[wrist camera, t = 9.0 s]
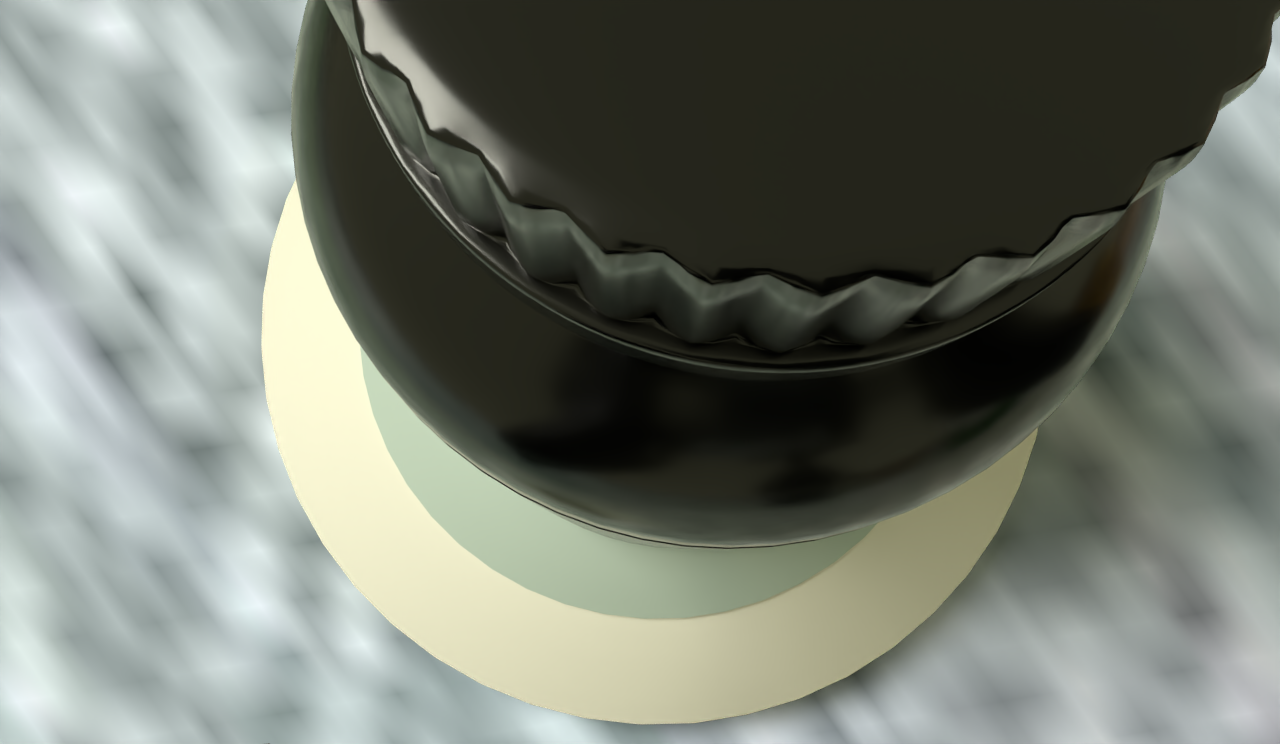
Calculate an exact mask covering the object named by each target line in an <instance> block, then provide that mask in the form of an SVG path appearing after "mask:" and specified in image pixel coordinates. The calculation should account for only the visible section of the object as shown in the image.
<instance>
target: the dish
mask: <svg viewBox="0 0 1280 744" xmlns="http://www.w3.org/2000/svg"><path fill="white" fill-rule="evenodd" d="M261 348H262V358H263V368H264V378H265V389H266V399H267V403H268V407H269V411H270V415H271V420H272V424H273V428H274V432H275V436H276V440H277V445H278V449H279V451H280V454H281V457H282V459H283V462H284V464H285V467H286V470H287V472H288V475H289V477H290V480H291V482H292V485H293V488H294V490H295V493H296V495H297V498H298V500H299V501H300V503H301V505H302V507H303V509H304V510H305V512H306V514H307V516H308V518H309V519H310V521H311V523H312V525H313V527H314V529H315V530H316V532H317V534H318V536H319V538H320V539H321V541H322V543H323V544H324V546H325V547H326V549H327V550H328V551H329V553H330V554H331V555H332V557H333V558H334V559H335V561H336V562H337V563H338V565H339V566H340V567H341V569H342V570H343V571H344V573H345V574H346V575H347V577H348V578H349V579H350V581H351V582H352V583H353V585H354V586H355V587H356V588H357V589H358V590H359V591H360V592H361V593H362V594H363V595H364V596H365V597H366V598H367V599H368V600H369V601H370V602H371V603H372V604H373V605H374V606H375V607H376V608H377V609H378V610H379V611H380V612H381V613H382V614H383V615H384V616H385V618H386V619H387V620H388V621H389V622H390V623H391V624H392V625H394V626H395V627H396V628H398V629H399V630H400V631H401V632H403V633H404V634H405V635H407V636H408V637H409V638H411V639H412V640H413V641H414V642H416V643H417V644H418V645H420V646H421V647H422V648H424V649H425V650H426V651H427V652H429V653H430V654H431V655H433V656H434V657H435V658H437V659H439V660H441V661H442V662H444V663H446V664H447V665H449V666H451V667H453V668H454V669H456V670H458V671H460V672H461V673H463V674H465V675H467V676H468V677H470V678H472V679H474V680H475V681H477V682H479V683H481V684H483V685H485V686H487V687H490V688H492V689H495V690H497V691H500V692H502V693H505V694H507V695H510V696H512V697H515V698H517V699H519V700H522V701H524V702H527V703H529V704H532V705H536V706H539V707H543V708H547V709H551V710H555V711H559V712H563V713H567V714H571V715H575V716H579V717H583V718H588V719H597V720H606V721H615V722H623V723H632V724H676V723H697V722H704V721H710V720H716V719H723V718H729V717H735V716H741V715H747V714H751V713H754V712H757V711H761V710H764V709H767V708H771V707H774V706H777V705H780V704H784V703H787V702H790V701H794V700H797V699H800V698H802V697H804V696H806V695H809V694H811V693H813V692H815V691H817V690H819V689H822V688H824V687H826V686H828V685H830V684H833V683H835V682H837V681H839V680H841V679H843V678H846V677H848V676H849V675H851V674H852V673H854V672H856V671H857V670H859V669H860V668H862V667H863V666H865V665H867V664H868V663H870V662H871V661H873V660H874V659H876V658H878V657H879V656H881V655H882V654H884V653H885V652H887V651H889V650H890V649H892V648H893V647H894V646H896V645H897V644H898V643H899V642H900V641H901V640H903V639H904V638H905V637H906V636H907V635H909V634H910V633H911V632H912V631H913V630H914V629H916V628H917V627H918V626H919V625H920V624H922V623H923V622H924V621H925V620H926V619H927V618H929V617H930V616H931V615H932V614H933V613H934V612H935V611H936V610H937V609H938V608H939V607H940V605H941V604H942V603H943V602H944V601H945V600H946V599H947V598H948V597H949V595H950V594H951V593H952V592H953V591H954V590H955V589H956V588H957V586H958V585H959V584H960V583H961V582H962V581H963V580H964V579H965V578H966V576H967V575H968V574H969V573H970V571H971V570H972V568H973V567H974V565H975V564H976V562H977V561H978V559H979V558H980V556H981V555H982V553H983V552H984V550H985V549H986V548H987V546H988V545H989V543H990V542H991V540H992V539H993V537H994V536H995V534H996V533H997V531H998V529H999V527H1000V525H1001V523H1002V521H1003V519H1004V517H1005V515H1006V513H1007V511H1008V509H1009V507H1010V505H1011V503H1012V501H1013V499H1014V497H1015V495H1016V493H1017V491H1018V489H1019V487H1020V484H1021V481H1022V478H1023V476H1024V473H1025V470H1026V467H1027V464H1028V461H1029V458H1030V455H1031V452H1032V449H1033V446H1034V443H1035V440H1036V437H1037V432H1038V427H1037V428H1036V429H1035V430H1034V431H1033V432H1032V433H1031V434H1030V435H1029V436H1028V437H1027V438H1026V439H1025V440H1024V441H1023V442H1021V443H1020V444H1019V445H1018V446H1016V447H1015V448H1014V449H1012V450H1011V451H1010V452H1008V453H1007V454H1006V455H1004V456H1003V457H1002V458H1001V459H999V460H998V461H997V462H995V463H994V464H993V465H991V466H990V467H989V468H988V469H986V470H984V471H983V472H981V473H979V474H978V475H976V476H975V477H973V478H971V479H970V480H968V481H966V482H965V483H963V484H961V485H960V486H958V487H957V488H955V489H953V490H952V491H950V492H948V493H946V494H944V495H942V496H940V497H938V498H935V499H933V500H931V501H929V502H927V503H925V504H923V505H921V506H919V507H917V508H915V509H913V510H910V511H908V512H906V513H904V514H901V515H898V516H895V517H892V518H890V519H887V520H884V521H881V522H879V523H876V524H873V525H870V526H867V527H865V528H862V529H858V530H856V531H852V532H848V533H844V534H840V535H836V536H832V537H828V538H824V539H820V540H816V541H810V542H803V543H796V544H789V545H782V546H775V547H767V548H744V549H673V548H656V547H650V546H643V545H637V544H631V543H627V542H623V541H619V540H615V539H612V538H608V537H605V536H602V535H599V534H597V533H594V532H591V531H589V530H586V529H583V528H581V527H579V526H577V525H575V524H573V523H571V522H569V521H567V520H565V519H563V518H561V517H559V516H557V515H555V514H553V513H551V512H549V511H548V510H546V509H544V508H542V507H540V506H538V505H536V504H535V503H533V502H531V501H529V500H527V499H525V498H524V497H522V496H520V495H518V494H517V493H515V492H514V491H512V490H510V489H509V488H507V487H505V486H504V485H502V484H501V483H499V482H497V481H496V480H494V479H493V478H491V477H489V476H488V475H486V474H484V473H483V472H482V471H480V470H479V469H478V468H476V467H475V466H474V465H473V464H471V463H470V462H469V461H467V460H466V459H465V458H463V457H462V456H461V455H459V454H458V453H457V452H456V451H454V450H453V449H452V448H450V447H449V446H448V445H447V444H446V443H445V442H444V441H443V440H441V439H440V438H439V437H438V436H437V435H436V434H435V433H434V432H433V431H432V430H431V429H430V428H429V427H428V426H426V425H425V424H424V423H423V422H422V421H421V420H420V419H419V418H418V417H417V416H416V415H415V414H414V413H413V412H412V410H411V409H410V408H409V407H408V406H407V405H406V404H405V402H404V401H403V400H402V399H401V398H400V397H399V395H398V394H397V393H396V392H395V391H394V390H393V389H392V387H391V386H390V385H389V384H388V383H387V382H386V381H385V379H384V378H383V377H382V376H381V374H380V373H379V371H378V370H377V369H376V367H375V366H374V364H373V363H372V362H371V360H370V359H369V357H368V356H367V354H366V353H365V352H364V350H363V349H362V347H361V346H360V345H359V343H358V342H357V340H356V339H355V337H354V335H353V334H352V332H351V330H350V328H349V326H348V325H347V323H346V321H345V319H344V318H343V316H342V314H341V312H340V311H339V309H338V307H337V305H336V303H335V302H334V299H333V297H332V295H331V293H330V290H329V288H328V286H327V283H326V281H325V279H324V276H323V274H322V272H321V270H320V267H319V265H318V263H317V260H316V256H315V253H314V250H313V247H312V244H311V241H310V237H309V234H308V231H307V228H306V225H305V222H304V217H303V212H302V207H301V202H300V197H299V192H298V188H297V183H296V180H295V182H294V184H293V186H292V188H291V191H290V193H289V195H288V197H287V199H286V203H285V206H284V209H283V212H282V215H281V219H280V222H279V225H278V228H277V232H276V235H275V238H274V241H273V244H272V248H271V254H270V260H269V266H268V272H267V277H266V283H265V289H264V295H263V317H262V345H261Z"/></svg>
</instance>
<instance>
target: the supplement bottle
mask: <svg viewBox="0 0 1280 744" xmlns="http://www.w3.org/2000/svg"><path fill="white" fill-rule="evenodd" d="M1279 16H1280V0H308V1H307V4H306V8H305V12H304V16H303V21H302V26H301V30H300V35H299V40H298V44H297V49H296V56H295V65H294V74H293V83H292V92H291V136H292V146H293V156H294V166H295V176H296V183H297V188H298V192H299V197H300V202H301V207H302V212H303V217H304V222H305V225H306V228H307V231H308V234H309V237H310V241H311V244H312V247H313V250H314V253H315V256H316V260H317V263H318V265H319V267H320V270H321V272H322V274H323V276H324V279H325V281H326V283H327V286H328V288H329V290H330V293H331V295H332V297H333V299H334V302H335V303H336V305H337V307H338V309H339V311H340V312H341V314H342V316H343V318H344V319H345V321H346V323H347V325H348V326H349V328H350V330H351V332H352V334H353V335H354V337H355V339H356V340H357V342H358V343H359V345H360V346H361V347H362V349H363V350H364V352H365V353H366V354H367V356H368V357H369V359H370V360H371V362H372V363H373V364H374V366H375V367H376V369H377V370H378V371H379V373H380V374H381V376H382V377H383V378H384V379H385V381H386V382H387V383H388V384H389V385H390V386H391V387H392V389H393V390H394V391H395V392H396V393H397V394H398V395H399V397H400V398H401V399H402V400H403V401H404V402H405V404H406V405H407V406H408V407H409V408H410V409H411V410H412V412H413V413H414V414H415V415H416V416H417V417H418V418H419V419H420V420H421V421H422V422H423V423H424V424H425V425H426V426H428V427H429V428H430V429H431V430H432V431H433V432H434V433H435V434H436V435H437V436H438V437H439V438H440V439H441V440H443V441H444V442H445V443H446V444H447V445H448V446H449V447H450V448H452V449H453V450H454V451H456V452H457V453H458V454H459V455H461V456H462V457H463V458H465V459H466V460H467V461H469V462H470V463H471V464H473V465H474V466H475V467H476V468H478V469H479V470H480V471H482V472H483V473H484V474H486V475H488V476H489V477H491V478H493V479H494V480H496V481H497V482H499V483H501V484H502V485H504V486H505V487H507V488H509V489H510V490H512V491H514V492H515V493H517V494H518V495H520V496H522V497H524V498H525V499H527V500H529V501H531V502H533V503H535V504H536V505H538V506H540V507H542V508H544V509H546V510H548V511H549V512H551V513H553V514H555V515H557V516H559V517H561V518H563V519H565V520H567V521H569V522H571V523H573V524H575V525H577V526H579V527H581V528H583V529H586V530H589V531H591V532H594V533H597V534H599V535H602V536H605V537H608V538H612V539H615V540H619V541H623V542H627V543H631V544H637V545H643V546H650V547H656V548H673V549H744V548H767V547H775V546H782V545H789V544H796V543H803V542H810V541H816V540H820V539H824V538H828V537H832V536H836V535H840V534H844V533H848V532H852V531H856V530H858V529H862V528H865V527H867V526H870V525H873V524H876V523H879V522H881V521H884V520H887V519H890V518H892V517H895V516H898V515H901V514H904V513H906V512H908V511H910V510H913V509H915V508H917V507H919V506H921V505H923V504H925V503H927V502H929V501H931V500H933V499H935V498H938V497H940V496H942V495H944V494H946V493H948V492H950V491H952V490H953V489H955V488H957V487H958V486H960V485H961V484H963V483H965V482H966V481H968V480H970V479H971V478H973V477H975V476H976V475H978V474H979V473H981V472H983V471H984V470H986V469H988V468H989V467H990V466H991V465H993V464H994V463H995V462H997V461H998V460H999V459H1001V458H1002V457H1003V456H1004V455H1006V454H1007V453H1008V452H1010V451H1011V450H1012V449H1014V448H1015V447H1016V446H1018V445H1019V444H1020V443H1021V442H1023V441H1024V440H1025V439H1026V438H1027V437H1028V436H1029V435H1030V434H1031V433H1032V432H1033V431H1034V430H1035V429H1036V428H1037V427H1039V426H1040V425H1041V424H1042V423H1043V422H1044V421H1045V420H1046V419H1047V418H1048V417H1049V416H1050V415H1051V414H1052V413H1053V412H1054V411H1055V410H1056V409H1057V408H1058V406H1059V405H1060V404H1061V403H1062V402H1063V401H1064V400H1065V398H1066V397H1067V396H1068V395H1069V394H1070V393H1071V391H1072V390H1073V389H1074V388H1075V387H1076V386H1077V384H1078V383H1079V382H1080V381H1081V380H1082V378H1083V377H1084V375H1085V374H1086V373H1087V371H1088V370H1089V368H1090V367H1091V365H1092V364H1093V362H1094V361H1095V359H1096V358H1097V357H1098V355H1099V354H1100V352H1101V351H1102V349H1103V348H1104V346H1105V345H1106V344H1107V342H1108V341H1109V339H1110V337H1111V335H1112V333H1113V332H1114V330H1115V328H1116V326H1117V324H1118V322H1119V321H1120V319H1121V317H1122V315H1123V313H1124V311H1125V310H1126V308H1127V306H1128V304H1129V302H1130V299H1131V297H1132V295H1133V292H1134V290H1135V288H1136V285H1137V283H1138V280H1139V278H1140V276H1141V273H1142V271H1143V268H1144V266H1145V263H1146V260H1147V256H1148V253H1149V250H1150V246H1151V243H1152V240H1153V236H1154V233H1155V230H1156V226H1157V222H1158V218H1159V213H1160V207H1161V202H1162V197H1163V191H1164V186H1165V181H1166V180H1167V179H1168V178H1170V177H1171V176H1173V175H1174V174H1176V173H1177V172H1178V171H1180V170H1181V169H1183V168H1184V167H1185V166H1186V165H1188V164H1189V163H1190V162H1191V161H1192V160H1193V159H1194V158H1195V157H1196V155H1197V154H1198V153H1199V151H1200V150H1201V148H1202V147H1203V145H1204V144H1205V141H1206V139H1207V137H1208V135H1209V133H1210V131H1211V129H1212V126H1213V124H1214V122H1215V120H1216V117H1217V114H1218V111H1220V110H1221V109H1222V108H1224V107H1225V106H1226V105H1228V104H1229V103H1230V102H1232V101H1233V100H1234V99H1236V98H1237V97H1238V96H1240V95H1241V94H1242V93H1244V92H1245V91H1246V90H1247V89H1248V88H1249V87H1250V86H1252V84H1253V83H1254V82H1255V81H1256V80H1257V78H1258V77H1259V76H1260V74H1261V73H1262V71H1263V70H1264V68H1265V66H1266V62H1267V58H1268V54H1269V50H1270V46H1271V42H1272V25H1273V22H1274V21H1275V20H1276V19H1277V18H1278V17H1279Z"/></svg>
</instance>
